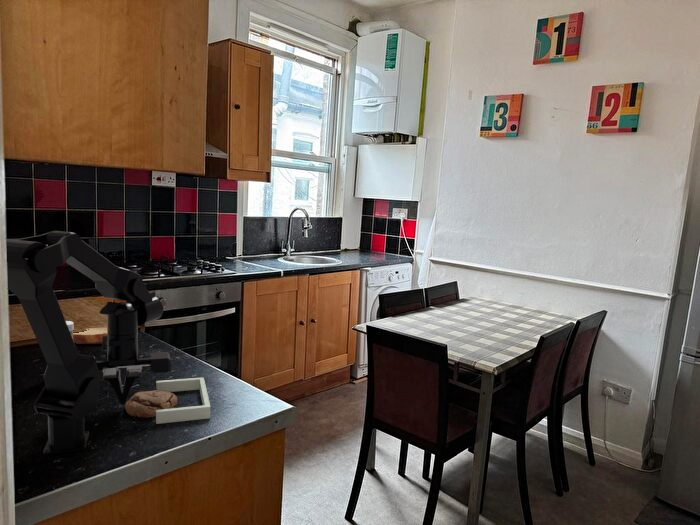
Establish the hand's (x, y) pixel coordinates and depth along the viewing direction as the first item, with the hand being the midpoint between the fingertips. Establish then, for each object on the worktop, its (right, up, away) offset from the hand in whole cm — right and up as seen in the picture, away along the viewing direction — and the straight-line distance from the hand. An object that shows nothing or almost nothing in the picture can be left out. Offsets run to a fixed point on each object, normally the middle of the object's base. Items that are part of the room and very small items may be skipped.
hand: (122, 403), depth 106 cm
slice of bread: (-31, +6, +45) cm, 55 cm away
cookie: (+5, -2, +2) cm, 6 cm away
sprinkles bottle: (-22, +2, +16) cm, 27 cm away
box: (+11, -1, +4) cm, 12 cm away
